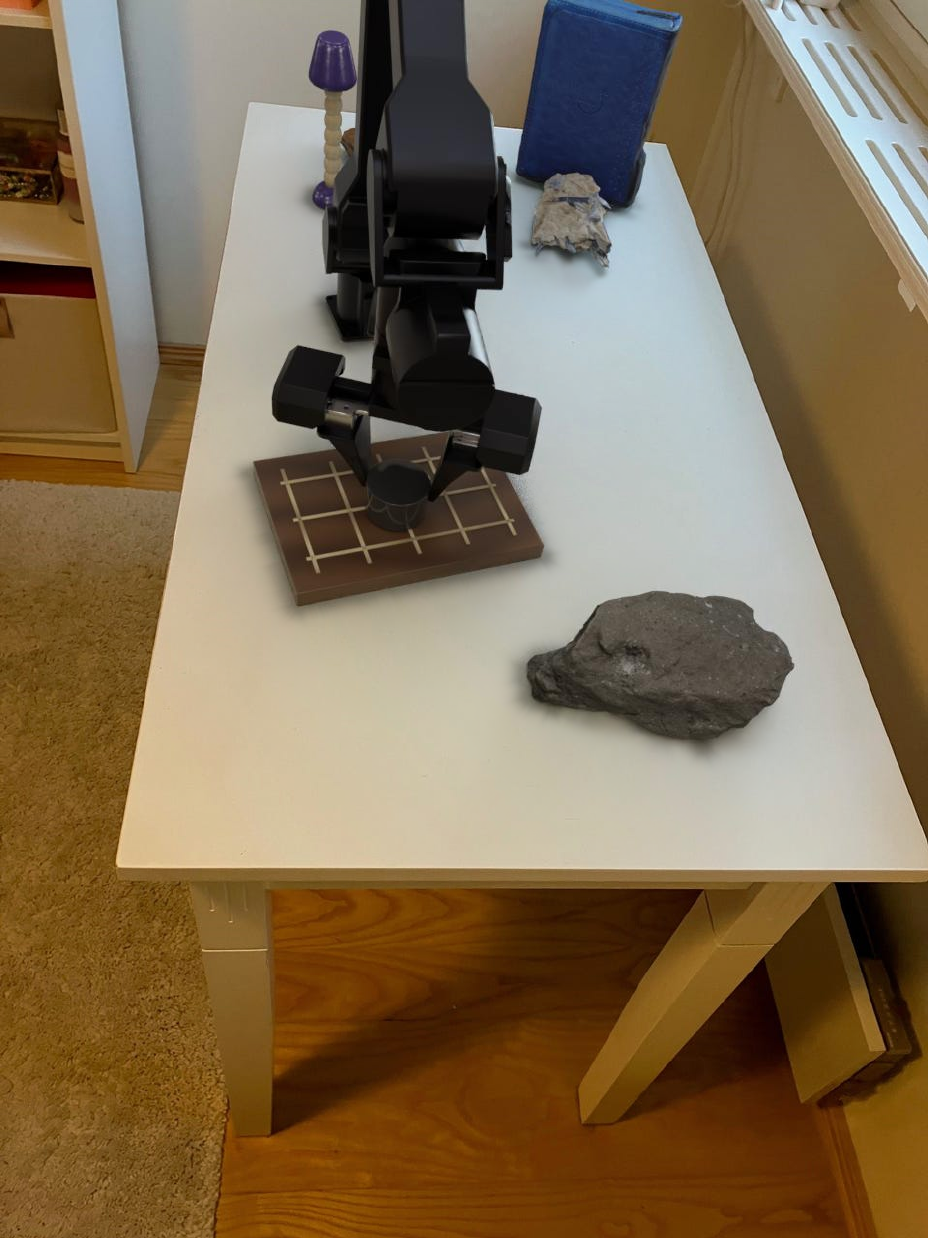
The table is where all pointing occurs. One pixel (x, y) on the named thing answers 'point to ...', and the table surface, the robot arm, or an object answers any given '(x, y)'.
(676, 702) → the stone
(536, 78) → the book
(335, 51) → the toy lamp
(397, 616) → the table surface
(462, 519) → the game board
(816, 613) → the table surface
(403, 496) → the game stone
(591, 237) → the mineral specimen
